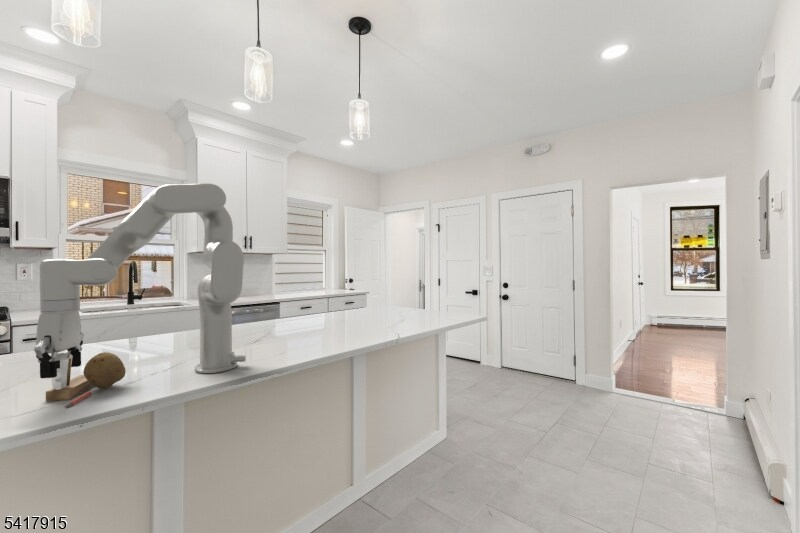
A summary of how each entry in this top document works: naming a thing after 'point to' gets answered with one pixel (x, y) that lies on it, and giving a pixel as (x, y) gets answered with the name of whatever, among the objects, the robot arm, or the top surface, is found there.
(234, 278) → the robot arm
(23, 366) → the top surface
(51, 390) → the batten
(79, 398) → the carpenter pencil
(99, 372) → the coconut
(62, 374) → the milkshake
